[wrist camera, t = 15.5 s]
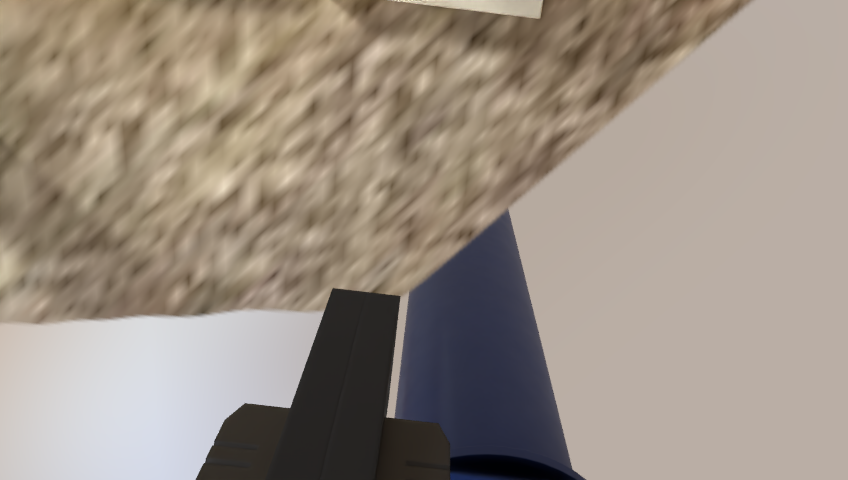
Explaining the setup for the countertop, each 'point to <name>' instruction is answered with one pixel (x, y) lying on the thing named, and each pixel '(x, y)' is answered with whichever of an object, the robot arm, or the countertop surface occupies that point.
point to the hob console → (489, 6)
